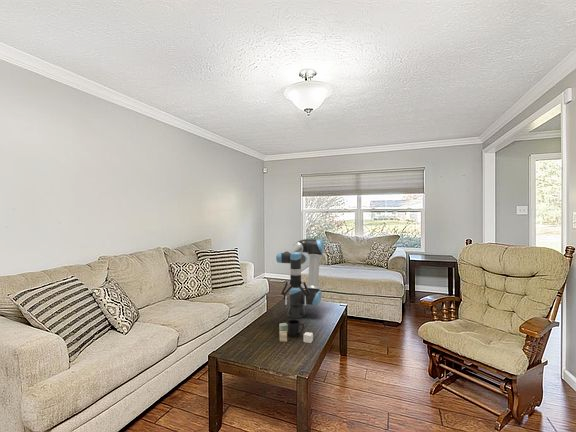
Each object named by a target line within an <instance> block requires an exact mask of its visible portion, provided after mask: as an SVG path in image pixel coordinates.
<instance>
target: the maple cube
mask: <svg viewBox="0 0 576 432" xmlns="http://www.w3.org/2000/svg"><path fill="white" fill-rule="evenodd" d="M279 342H280V343H281V342H288V332H287V331H280V330H279Z"/></svg>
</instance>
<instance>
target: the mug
mask: <svg viewBox="0 0 576 432" xmlns="http://www.w3.org/2000/svg"><path fill="white" fill-rule="evenodd" d="M287 325H288V334H289V336H290V337H293V338H295V337H298V336H301V334H302V332H303V331H304V330H305V324H304V323H300V320H297V319H289V320H288V321H287ZM300 325H301V326H302V329H301V330H300Z"/></svg>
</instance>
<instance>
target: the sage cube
mask: <svg viewBox="0 0 576 432" xmlns="http://www.w3.org/2000/svg"><path fill="white" fill-rule="evenodd" d="M278 327H279V329H278V330H279V332H280V331H287V333H289V330H288V323H287V322H282V323H281V322H280V323H279V325H278Z"/></svg>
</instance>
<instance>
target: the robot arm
mask: <svg viewBox="0 0 576 432" xmlns="http://www.w3.org/2000/svg"><path fill="white" fill-rule="evenodd" d="M324 245H325V244H324V242H323V240H322V239H315V238H311V239H309V238H308V239H307V238H305V239H301V240H298V241H296V242H294V243H293V245H292V246H291V247H290V248H288V249H286V251H284V252H278V253H276V256H275V257H276V258H275V260H276V262H277V263H278V264H290V265H289V266H290V268H289V270H290V275H289V276H290V280H289V281H288V280H286V281H285V285H284V287H283V289H282V291H281V295H283V301H284V303H285V304H284V305H285V306H286V305H288V303H289V307H288V310H287V317H288V318H290V319H302V318H305V317H306V310H305V306H307V305H309V306H318V305H319V304H321V301H322V296H323V295H322V291H321V288H320V287H319V277H320V263H321V262H320V260H321V257H322V256H323V254H324V253H325V246H324ZM305 253H307V255H306V254H305ZM307 256H309V262H308V263H309V265H308V276H307V277H308V278H307V284H306V281H302V265H303V264H305V263H306V262H307V259H308V258H307ZM289 284H290V286H289V287H288V285H289ZM302 285H303V286H302ZM287 287H288V289H286V288H287ZM304 288H305V289H304ZM288 293H289V294H288ZM288 295H289V297H288ZM288 299H289V302H288Z"/></svg>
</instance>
